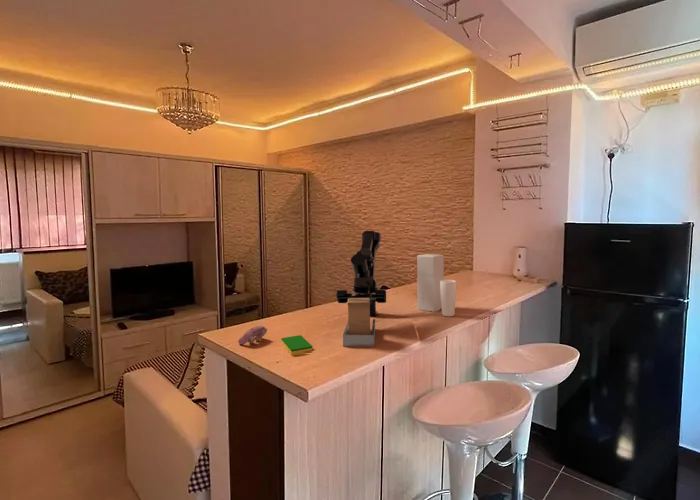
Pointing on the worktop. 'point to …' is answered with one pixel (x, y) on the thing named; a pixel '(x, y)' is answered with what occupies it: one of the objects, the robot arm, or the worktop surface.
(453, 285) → the drinking glass
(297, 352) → the dish sponge
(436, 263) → the tall white carton
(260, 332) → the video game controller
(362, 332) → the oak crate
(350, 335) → the metal bay
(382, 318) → the worktop surface
